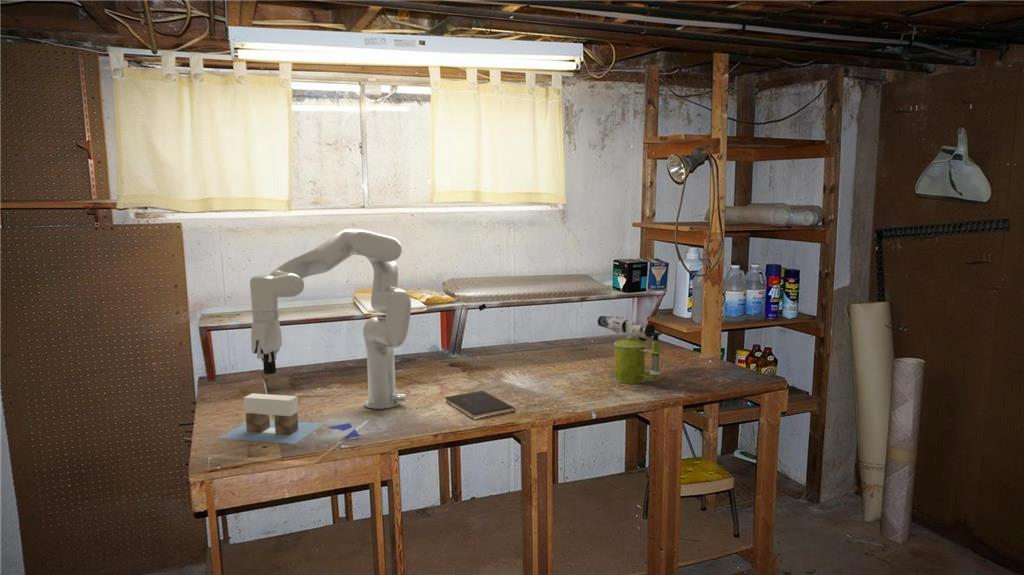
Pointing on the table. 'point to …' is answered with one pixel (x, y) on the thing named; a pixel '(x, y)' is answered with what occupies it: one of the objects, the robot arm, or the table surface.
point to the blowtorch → (632, 350)
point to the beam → (271, 404)
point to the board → (272, 433)
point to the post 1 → (257, 422)
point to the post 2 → (286, 424)
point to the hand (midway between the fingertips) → (270, 373)
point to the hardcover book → (479, 403)
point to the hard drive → (343, 427)
